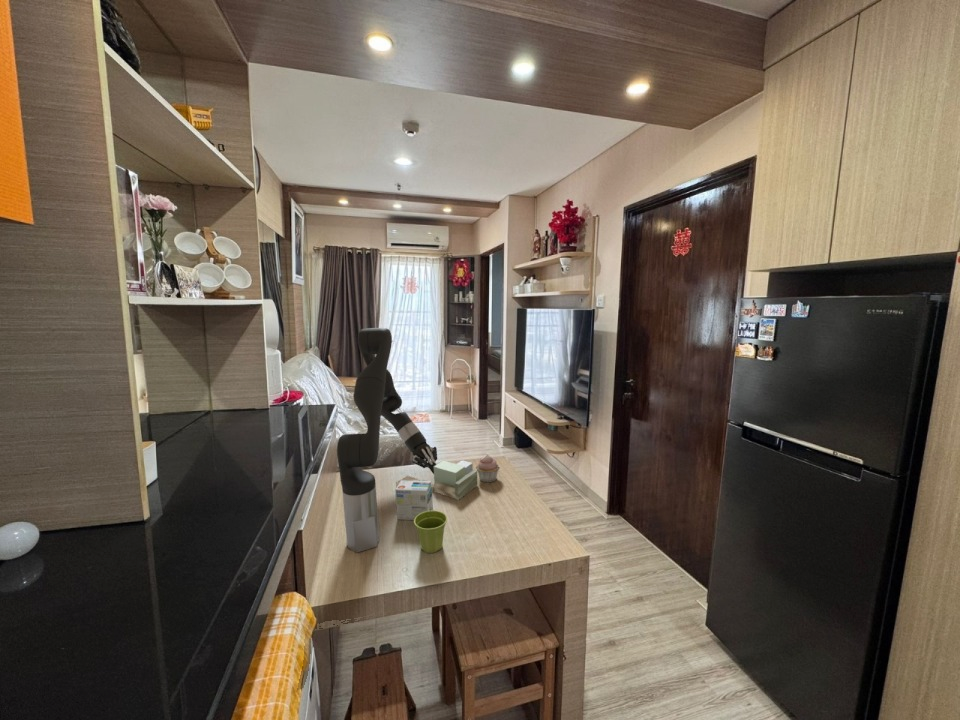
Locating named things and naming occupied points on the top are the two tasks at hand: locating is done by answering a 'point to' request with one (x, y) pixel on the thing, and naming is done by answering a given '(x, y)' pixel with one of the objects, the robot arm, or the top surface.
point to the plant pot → (430, 530)
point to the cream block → (407, 480)
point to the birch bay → (458, 486)
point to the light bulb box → (413, 498)
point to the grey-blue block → (466, 466)
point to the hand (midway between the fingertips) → (437, 473)
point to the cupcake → (487, 469)
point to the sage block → (448, 473)
